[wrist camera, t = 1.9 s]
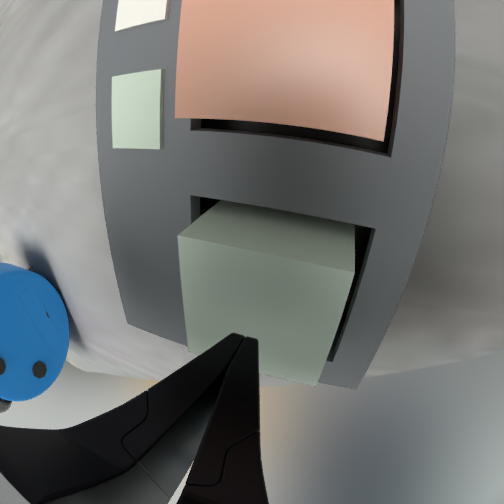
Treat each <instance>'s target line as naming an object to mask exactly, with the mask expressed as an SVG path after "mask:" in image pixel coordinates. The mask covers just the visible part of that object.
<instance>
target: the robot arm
mask: <svg viewBox="0 0 504 504" xmlns="http://www.w3.org/2000/svg"><path fill="white" fill-rule="evenodd" d="M259 397H260V396H259V341H258V339H256V338H252V337H249V336H246V337H245V336H244V335H241V334H238V333H231V334H229V335H228V336H226V337H225V338H224V339H222V340H221V341H219V342H218V343H216V344H215V345H214V346H212V347H211V348H209V349H208V350H206V351H205V352H203V353H202V354H200V355H199V356H198V357H196V358H195V359H193V360H192V361H190V362H189V363H187V364H186V365H184V366H183V367H181V368H180V369H178V370H177V371H175V372H174V373H172V374H171V375H169V376H168V377H166V378H165V379H163V380H162V381H160V382H159V383H157V384H155V385H154V386H152V387H151V388H149V389H148V391H144V392H143V393H141V394H140V395H138V396H136V397H135V398H133V399H131V400H130V401H128V402H126V403H124V404H123V405H121V406H119V407H116V408H114V409H112V410H110V411H108V412H106V413H104V414H102V415H99V416H97V417H95V418H92V419H90V420H88V421H85V422H83V423H81V424H78V425H76V426H73V427H70V428H66V429H59V430H48V429H28V428H14V427H6V426H0V504H168V502H169V501H170V498H171V497H172V496H173V494H174V492H175V491H176V489H177V488H178V486H179V484H180V482H181V481H182V479H183V478H184V476H185V474H186V473H187V471H188V469H189V468H190V466H191V464H192V462H193V461H194V462H193V465H192V467H191V470H190V473H189V475H188V478H187V481H186V485H185V487H184V489H183V491H182V494H181V496H180V498H179V500H178V502H177V504H269V502H268V497H267V492H266V487H265V481H264V476H263V469H262V461H261V448H260V404H259V403H260V402H259V401H260V398H259Z"/></svg>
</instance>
